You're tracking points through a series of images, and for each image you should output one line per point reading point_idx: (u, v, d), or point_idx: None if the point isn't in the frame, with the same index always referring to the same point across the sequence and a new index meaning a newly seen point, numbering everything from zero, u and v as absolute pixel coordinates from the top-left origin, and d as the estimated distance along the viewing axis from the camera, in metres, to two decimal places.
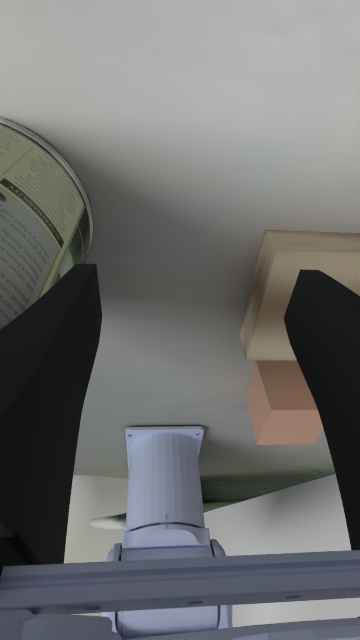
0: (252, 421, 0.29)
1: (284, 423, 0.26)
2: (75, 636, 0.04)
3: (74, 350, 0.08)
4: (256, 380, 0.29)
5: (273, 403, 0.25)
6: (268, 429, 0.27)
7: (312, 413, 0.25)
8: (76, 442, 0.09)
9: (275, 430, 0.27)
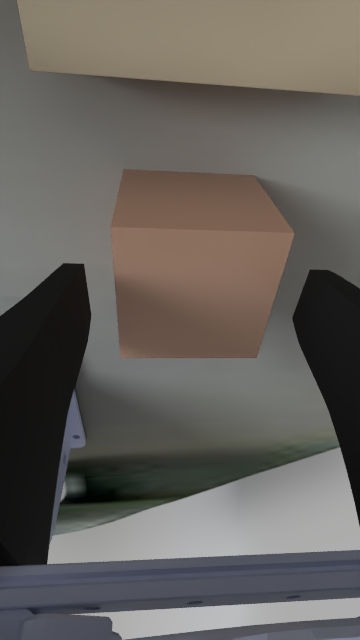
0: None
1: (165, 285, 0.10)
2: (75, 636, 0.04)
3: (59, 350, 0.08)
4: None
5: (126, 217, 0.09)
6: (131, 306, 0.11)
7: (233, 246, 0.09)
8: (62, 442, 0.09)
9: (151, 311, 0.11)
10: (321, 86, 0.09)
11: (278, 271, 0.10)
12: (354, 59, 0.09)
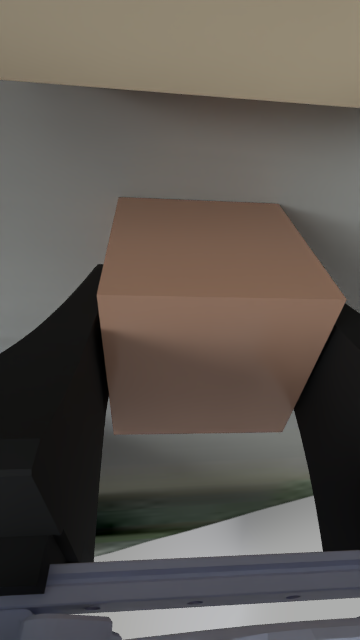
0: None
1: (170, 359, 0.08)
2: (75, 636, 0.04)
3: (102, 350, 0.08)
4: None
5: (119, 276, 0.07)
6: (126, 383, 0.08)
7: (263, 315, 0.07)
8: (102, 441, 0.09)
9: (153, 387, 0.08)
10: None
11: (319, 343, 0.08)
12: None
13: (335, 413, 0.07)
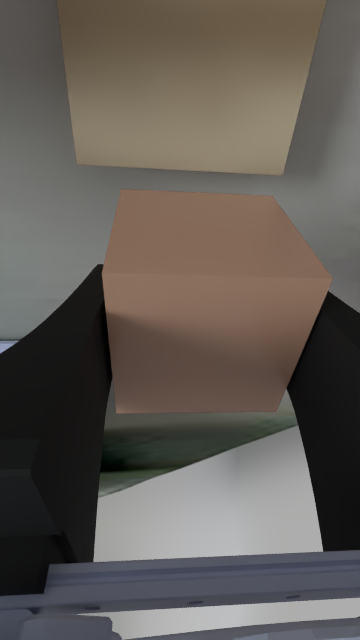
0: None
1: (170, 337, 0.08)
2: (75, 636, 0.04)
3: (101, 350, 0.08)
4: None
5: (122, 257, 0.07)
6: (128, 361, 0.09)
7: (256, 294, 0.07)
8: (101, 442, 0.09)
9: (153, 365, 0.09)
10: (252, 170, 0.15)
11: (309, 321, 0.08)
12: (270, 156, 0.14)
13: (335, 413, 0.07)
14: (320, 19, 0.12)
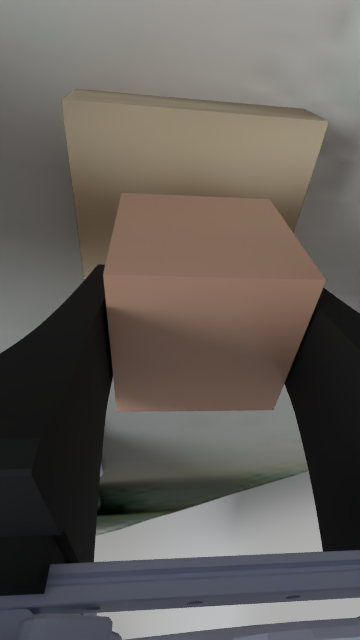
0: None
1: (169, 336, 0.08)
2: (75, 636, 0.04)
3: (102, 350, 0.08)
4: None
5: (122, 259, 0.08)
6: (128, 360, 0.09)
7: (252, 295, 0.08)
8: (102, 441, 0.09)
9: (152, 364, 0.09)
10: None
11: (304, 321, 0.08)
12: None
13: (335, 413, 0.07)
14: (295, 223, 0.14)
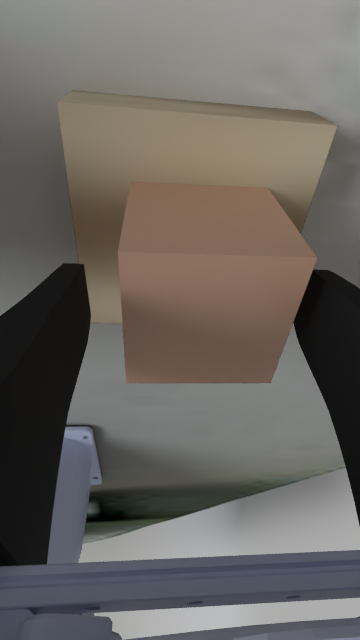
0: None
1: (175, 310, 0.09)
2: (75, 636, 0.04)
3: (59, 350, 0.08)
4: None
5: (134, 239, 0.09)
6: (138, 333, 0.10)
7: (250, 271, 0.09)
8: (62, 442, 0.09)
9: (160, 337, 0.10)
10: None
11: (298, 297, 0.09)
12: None
13: None
14: (300, 230, 0.14)
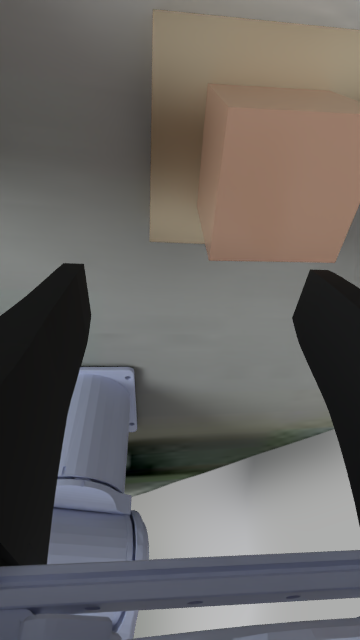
0: (204, 228, 0.14)
1: (266, 175, 0.11)
2: (75, 636, 0.04)
3: (59, 350, 0.08)
4: (207, 125, 0.13)
5: (237, 103, 0.10)
6: (229, 200, 0.11)
7: (337, 130, 0.10)
8: (62, 442, 0.09)
9: (248, 206, 0.11)
10: None
11: None
12: None
13: None
14: None
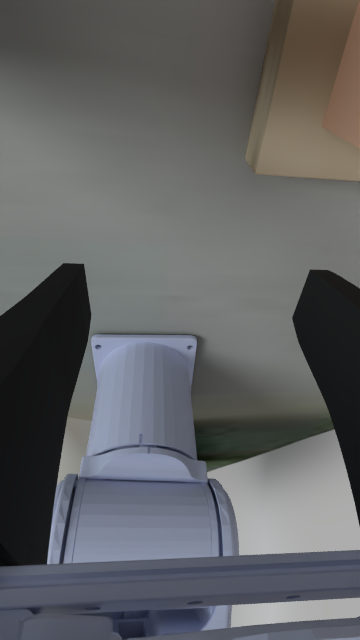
0: (355, 134, 0.12)
1: None
2: (75, 636, 0.04)
3: (59, 350, 0.08)
4: None
5: None
6: None
7: None
8: (62, 442, 0.09)
9: None
10: None
11: None
12: None
13: None
14: None
